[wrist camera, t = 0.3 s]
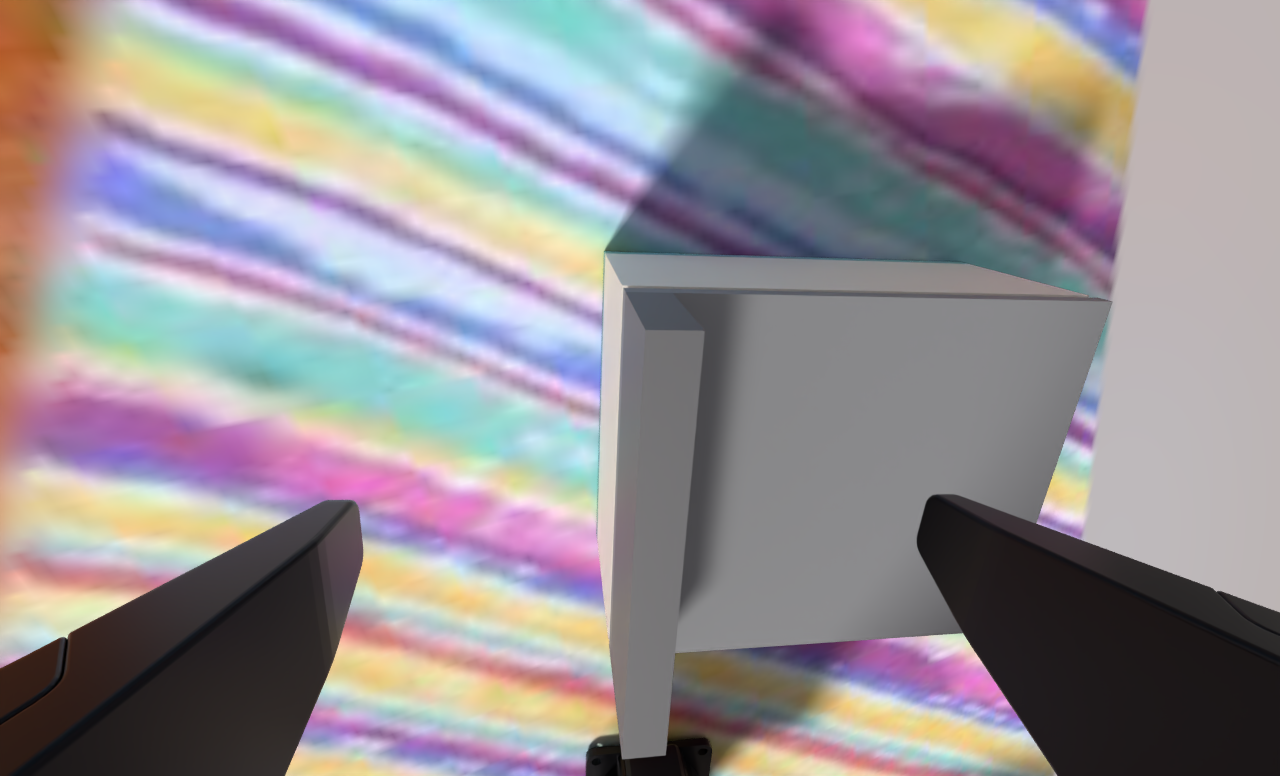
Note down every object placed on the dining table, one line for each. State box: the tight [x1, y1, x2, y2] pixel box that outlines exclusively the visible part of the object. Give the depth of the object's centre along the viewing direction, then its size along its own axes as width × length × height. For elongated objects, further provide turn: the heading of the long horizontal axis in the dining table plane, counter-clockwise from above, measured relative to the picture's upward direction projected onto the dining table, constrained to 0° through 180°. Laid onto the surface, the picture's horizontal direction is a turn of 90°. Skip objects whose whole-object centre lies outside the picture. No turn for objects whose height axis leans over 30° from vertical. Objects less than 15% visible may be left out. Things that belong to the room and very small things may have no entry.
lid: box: [609, 288, 1112, 759], centre depth 17 cm, size 12×14×4 cm
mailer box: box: [596, 251, 1089, 639], centre depth 21 cm, size 12×14×6 cm
